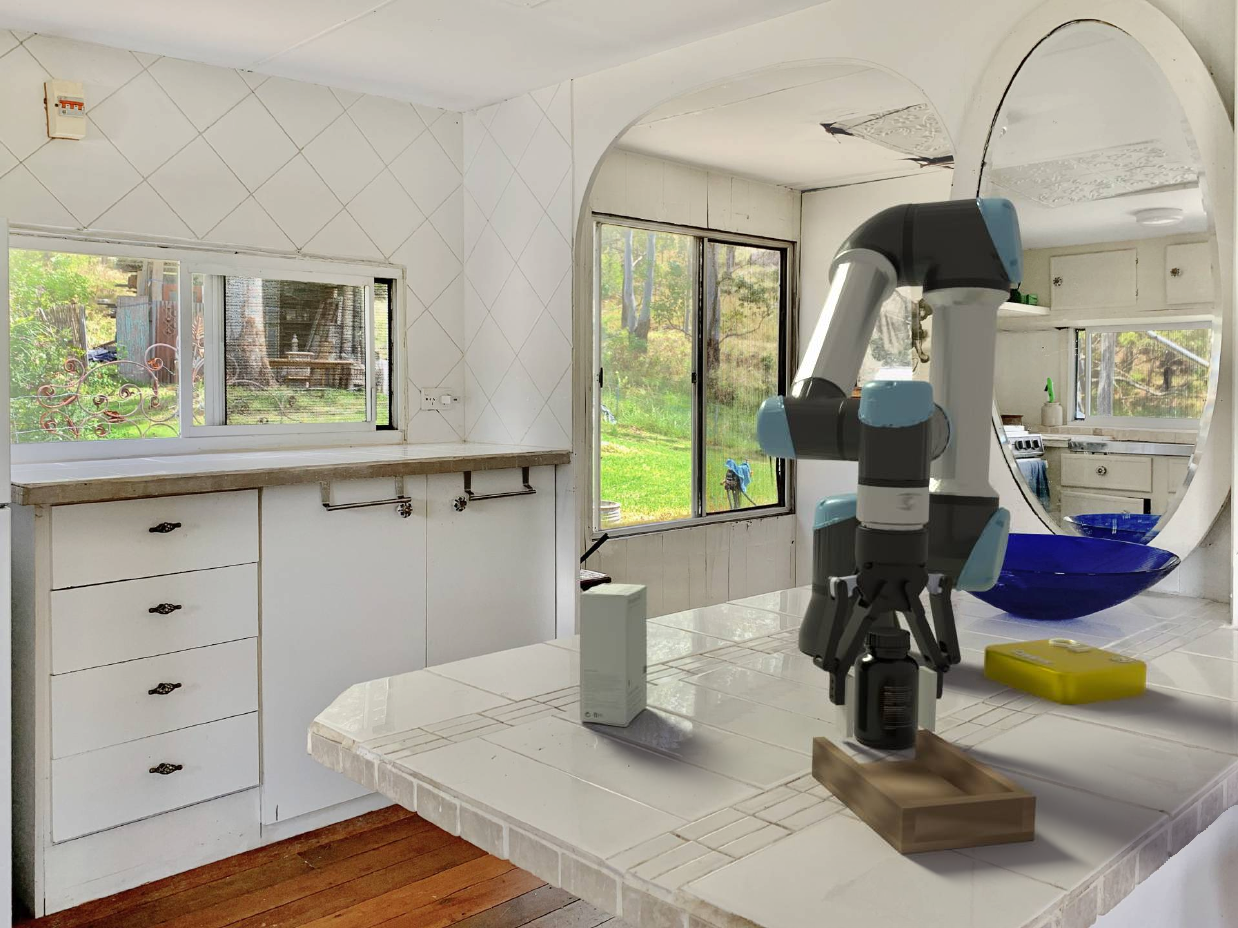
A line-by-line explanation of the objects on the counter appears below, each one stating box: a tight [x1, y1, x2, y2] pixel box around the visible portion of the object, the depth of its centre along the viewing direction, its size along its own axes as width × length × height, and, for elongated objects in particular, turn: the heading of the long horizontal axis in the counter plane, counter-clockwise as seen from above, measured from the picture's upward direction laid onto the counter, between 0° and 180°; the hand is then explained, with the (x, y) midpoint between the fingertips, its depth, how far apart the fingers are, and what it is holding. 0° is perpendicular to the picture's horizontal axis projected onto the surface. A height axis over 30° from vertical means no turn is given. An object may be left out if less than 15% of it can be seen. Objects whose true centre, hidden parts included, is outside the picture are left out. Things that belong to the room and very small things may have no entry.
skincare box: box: [579, 582, 648, 728], centre depth 116 cm, size 8×6×15 cm
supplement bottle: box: [853, 627, 920, 750], centre depth 109 cm, size 7×7×12 cm
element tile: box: [983, 637, 1148, 706], centre depth 132 cm, size 15×15×5 cm
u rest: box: [811, 728, 1037, 855], centre depth 91 cm, size 17×12×4 cm
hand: (884, 730), depth 109 cm, fingers open, 9 cm apart
